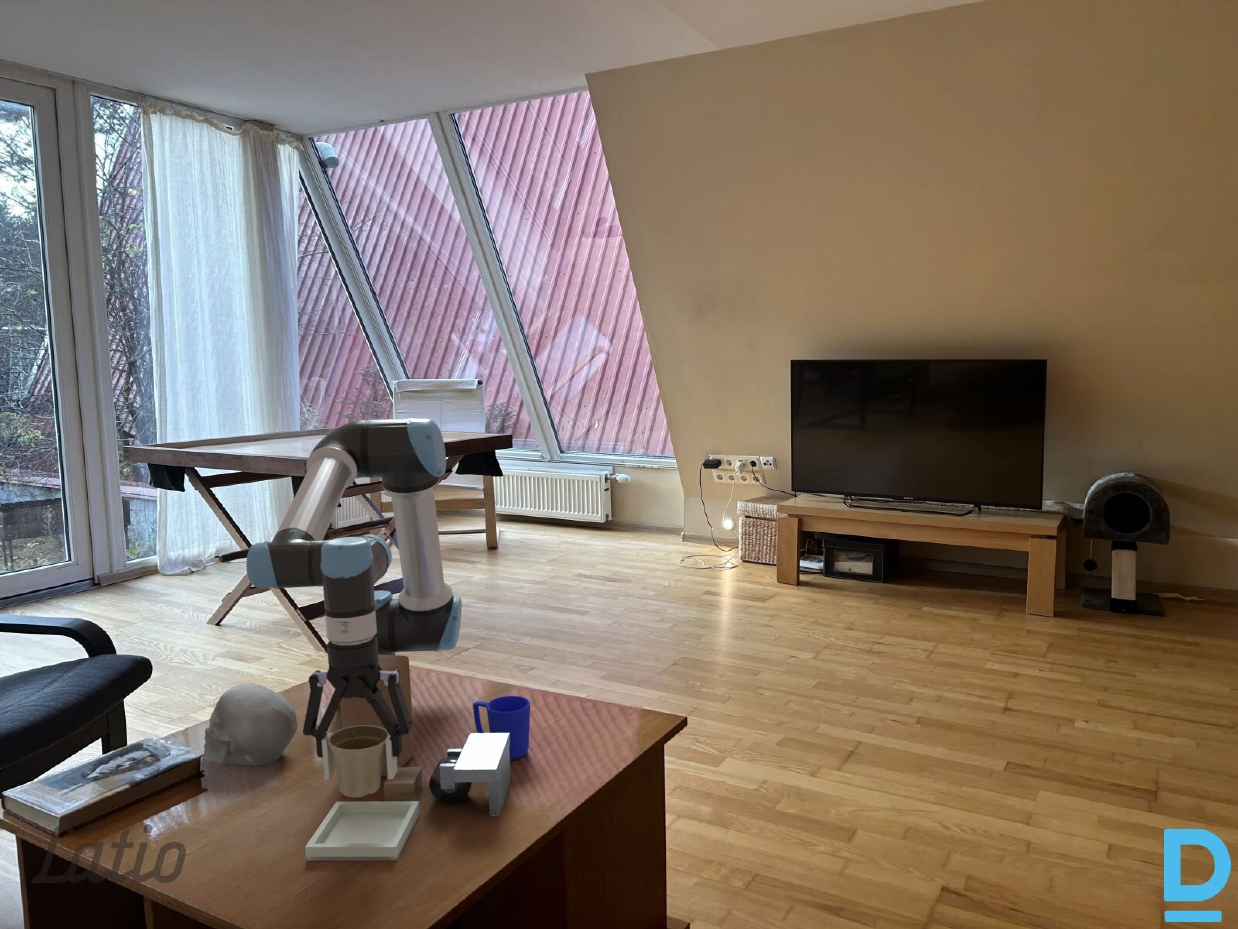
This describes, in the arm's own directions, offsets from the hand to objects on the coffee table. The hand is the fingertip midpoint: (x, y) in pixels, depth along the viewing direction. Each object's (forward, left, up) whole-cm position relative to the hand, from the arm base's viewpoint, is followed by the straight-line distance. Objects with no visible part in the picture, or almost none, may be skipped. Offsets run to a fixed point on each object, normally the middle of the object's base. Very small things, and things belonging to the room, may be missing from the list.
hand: (361, 775), depth 147 cm
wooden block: (-25, -5, -11) cm, 28 cm away
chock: (-12, +3, -10) cm, 16 cm away
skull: (-29, -32, -11) cm, 44 cm away
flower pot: (0, 0, -2) cm, 2 cm away
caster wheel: (-12, +13, -10) cm, 21 cm away
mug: (-30, +17, -11) cm, 36 cm away
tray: (0, 0, -10) cm, 10 cm away
